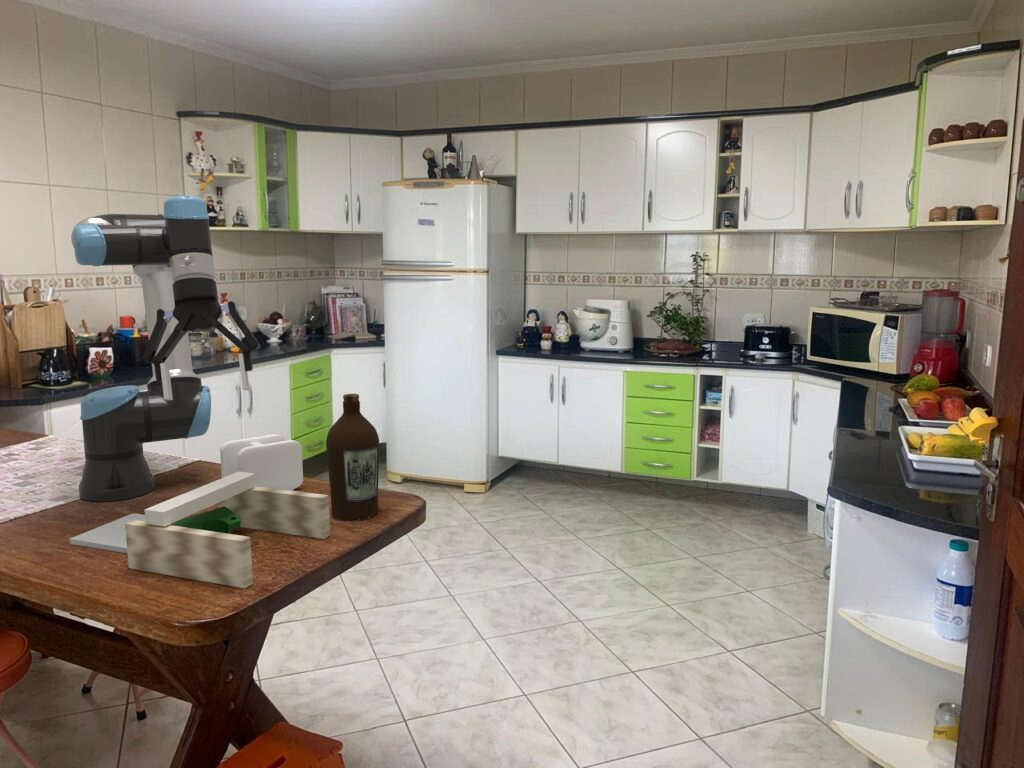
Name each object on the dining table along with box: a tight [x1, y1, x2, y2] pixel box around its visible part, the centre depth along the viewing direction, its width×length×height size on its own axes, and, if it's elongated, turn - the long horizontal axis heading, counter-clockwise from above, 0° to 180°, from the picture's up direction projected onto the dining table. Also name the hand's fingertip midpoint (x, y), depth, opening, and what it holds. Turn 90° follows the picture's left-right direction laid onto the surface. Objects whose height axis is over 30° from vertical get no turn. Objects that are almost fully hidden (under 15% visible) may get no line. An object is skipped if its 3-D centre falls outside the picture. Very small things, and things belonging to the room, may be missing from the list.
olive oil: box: [325, 393, 380, 521], centre depth 159 cm, size 11×11×25 cm
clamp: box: [170, 506, 241, 534], centre depth 143 cm, size 12×6×9 cm, turn 139°
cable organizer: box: [219, 433, 304, 491], centre depth 176 cm, size 15×11×12 cm
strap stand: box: [125, 486, 331, 589], centre depth 141 cm, size 24×25×8 cm
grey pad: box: [69, 512, 179, 554], centre depth 149 cm, size 14×15×1 cm
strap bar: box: [144, 472, 256, 527], centre depth 142 cm, size 4×24×2 cm, turn 160°
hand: (207, 394), depth 142 cm, fingers open, 13 cm apart
